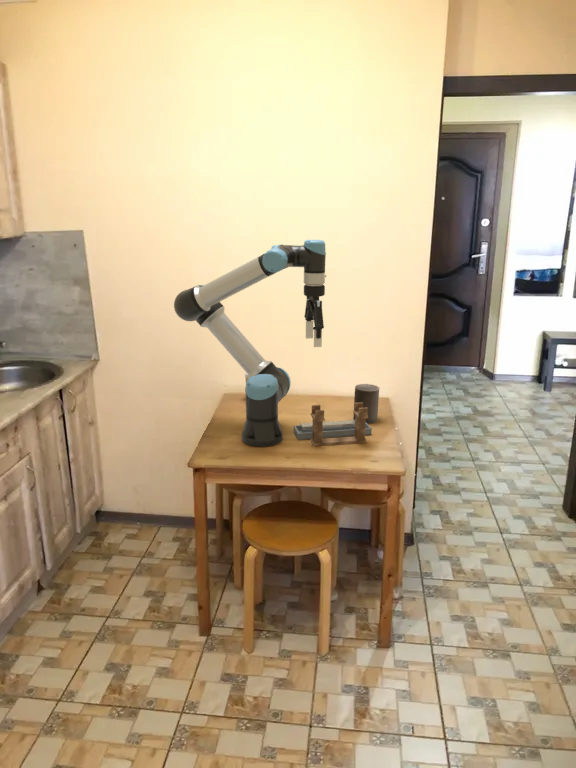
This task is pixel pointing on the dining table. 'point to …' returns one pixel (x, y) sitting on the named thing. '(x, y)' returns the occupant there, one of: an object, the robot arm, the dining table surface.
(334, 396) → the dining table surface
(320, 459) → the dining table surface
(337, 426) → the rail
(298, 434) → the tray
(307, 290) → the robot arm
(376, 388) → the pillar candle
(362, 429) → the rack
